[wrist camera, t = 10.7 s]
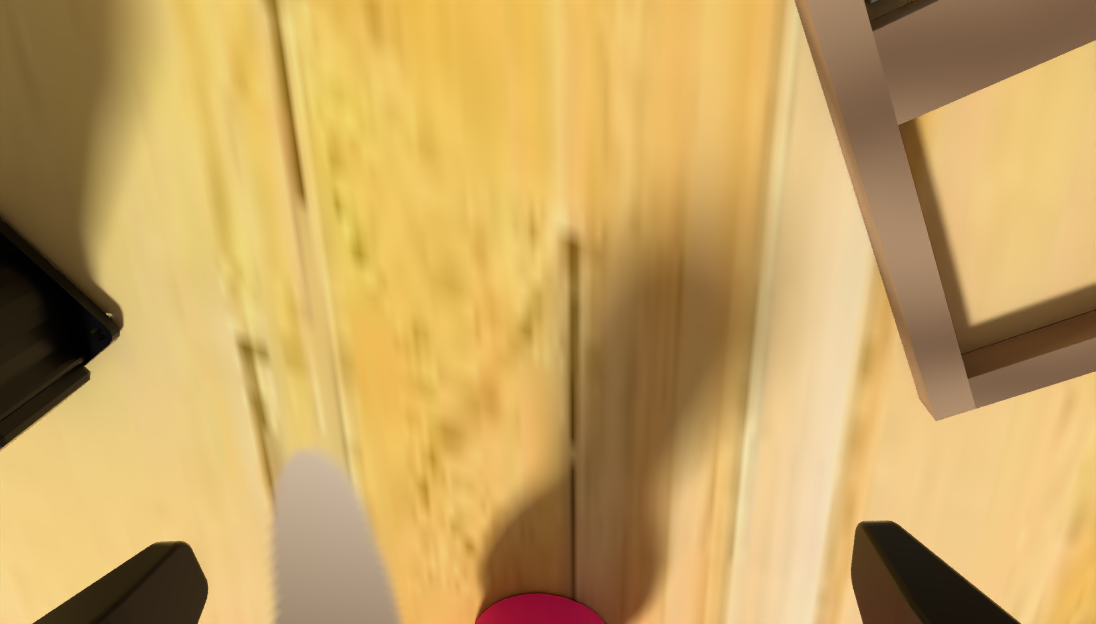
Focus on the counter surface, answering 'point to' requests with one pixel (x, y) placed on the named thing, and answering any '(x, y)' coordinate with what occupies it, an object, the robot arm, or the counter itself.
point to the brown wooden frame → (886, 181)
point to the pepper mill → (538, 611)
